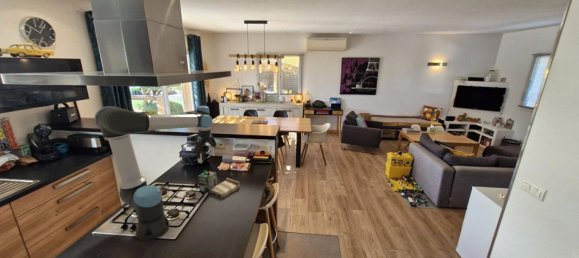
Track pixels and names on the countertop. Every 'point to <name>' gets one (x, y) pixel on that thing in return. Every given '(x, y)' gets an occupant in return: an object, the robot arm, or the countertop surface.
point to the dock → (225, 188)
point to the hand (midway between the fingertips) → (206, 159)
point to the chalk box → (207, 181)
